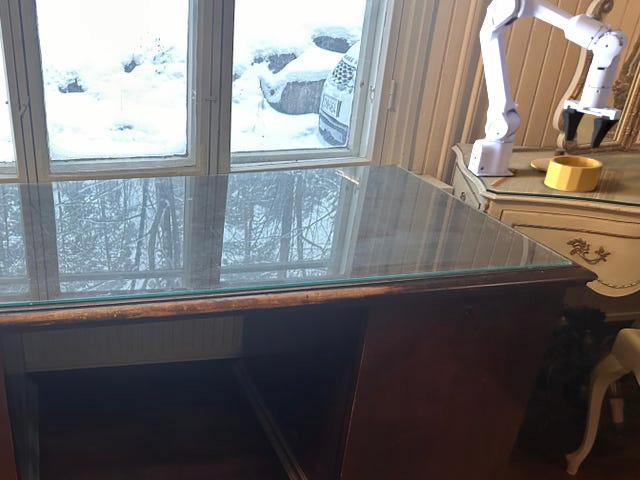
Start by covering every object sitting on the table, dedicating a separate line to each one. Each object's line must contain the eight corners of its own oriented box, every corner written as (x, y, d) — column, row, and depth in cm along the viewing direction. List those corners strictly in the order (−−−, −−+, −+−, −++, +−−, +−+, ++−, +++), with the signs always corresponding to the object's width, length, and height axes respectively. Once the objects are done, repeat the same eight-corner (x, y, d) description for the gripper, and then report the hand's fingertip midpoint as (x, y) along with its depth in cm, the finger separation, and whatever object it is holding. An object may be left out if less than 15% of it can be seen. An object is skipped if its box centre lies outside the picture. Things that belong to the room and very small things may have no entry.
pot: (556, 192, 170) (563, 168, 167) (536, 178, 180) (542, 155, 176) (604, 191, 169) (611, 167, 166) (581, 178, 179) (588, 155, 176)
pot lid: (541, 175, 182) (546, 156, 179) (522, 162, 193) (527, 144, 190) (589, 174, 181) (595, 155, 179) (568, 161, 192) (573, 143, 189)
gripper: (560, 82, 167) (545, 139, 174) (612, 92, 155) (593, 152, 162) (583, 80, 168) (567, 136, 176) (635, 89, 157) (616, 149, 164)
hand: (581, 143), depth 169 cm, fingers open, 7 cm apart
